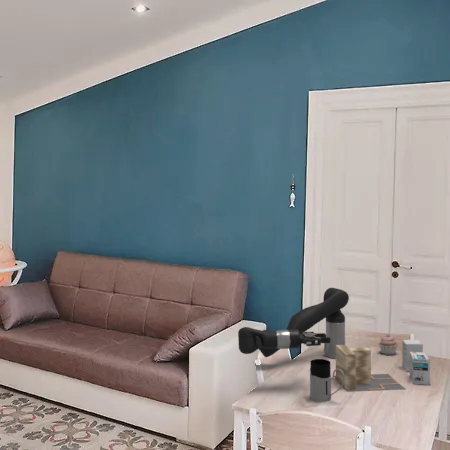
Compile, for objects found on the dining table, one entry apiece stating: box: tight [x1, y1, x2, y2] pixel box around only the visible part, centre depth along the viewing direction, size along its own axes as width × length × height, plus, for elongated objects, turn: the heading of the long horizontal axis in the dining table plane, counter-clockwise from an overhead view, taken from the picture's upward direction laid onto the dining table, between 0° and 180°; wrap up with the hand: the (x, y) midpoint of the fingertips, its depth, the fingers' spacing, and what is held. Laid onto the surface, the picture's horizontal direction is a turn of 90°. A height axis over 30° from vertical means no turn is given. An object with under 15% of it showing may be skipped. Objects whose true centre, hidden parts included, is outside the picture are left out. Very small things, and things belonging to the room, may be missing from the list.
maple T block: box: [335, 344, 372, 390], centre depth 218 cm, size 12×14×14 cm
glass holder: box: [309, 358, 344, 403], centre depth 201 cm, size 9×14×15 cm, turn 51°
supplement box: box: [401, 339, 424, 373], centre depth 238 cm, size 7×7×13 cm
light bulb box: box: [409, 351, 431, 386], centre depth 224 cm, size 11×7×11 cm, turn 168°
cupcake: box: [378, 333, 399, 356], centre depth 263 cm, size 9×9×10 cm
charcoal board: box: [334, 373, 406, 393], centre depth 219 cm, size 24×19×1 cm
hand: (327, 338), depth 217 cm, fingers open, 6 cm apart
